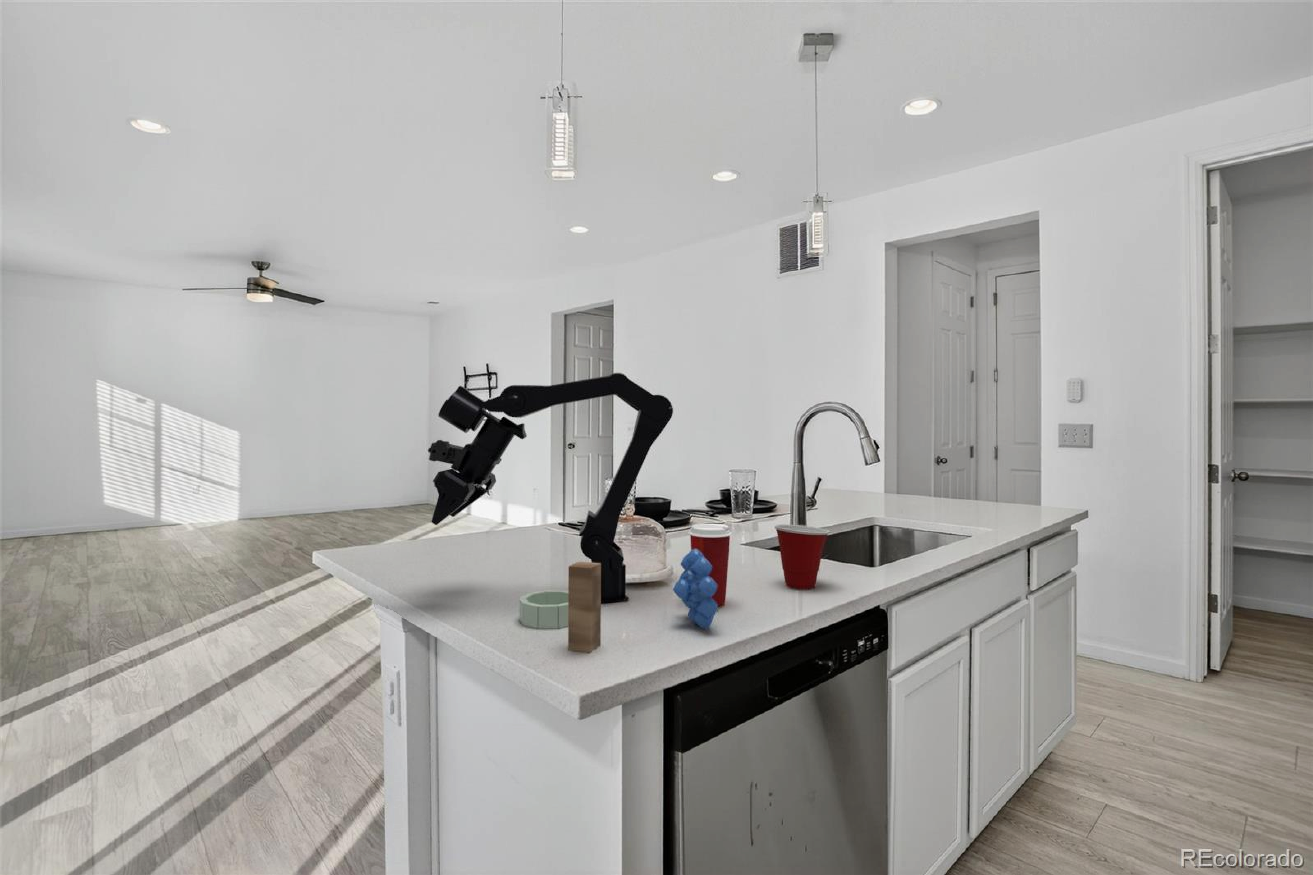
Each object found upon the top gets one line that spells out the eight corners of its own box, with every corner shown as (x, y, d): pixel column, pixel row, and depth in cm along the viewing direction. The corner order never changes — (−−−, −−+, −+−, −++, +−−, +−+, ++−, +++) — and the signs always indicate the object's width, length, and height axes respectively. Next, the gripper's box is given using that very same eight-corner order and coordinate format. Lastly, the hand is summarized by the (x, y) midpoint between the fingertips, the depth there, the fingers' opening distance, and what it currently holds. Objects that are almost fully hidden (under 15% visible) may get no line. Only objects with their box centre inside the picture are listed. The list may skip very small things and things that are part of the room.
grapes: (660, 616, 110) (661, 545, 109) (698, 613, 112) (698, 543, 111) (685, 638, 99) (686, 559, 98) (726, 634, 101) (727, 556, 100)
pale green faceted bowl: (572, 607, 114) (572, 588, 114) (588, 625, 105) (588, 603, 105) (515, 613, 111) (515, 593, 110) (527, 632, 101) (527, 609, 101)
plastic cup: (840, 590, 128) (841, 528, 127) (794, 595, 124) (794, 532, 123) (807, 577, 138) (808, 520, 137) (763, 582, 134) (763, 523, 133)
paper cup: (736, 601, 119) (737, 524, 119) (722, 612, 112) (723, 531, 112) (696, 596, 123) (697, 521, 122) (680, 606, 116) (681, 527, 115)
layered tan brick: (578, 642, 97) (578, 561, 96) (600, 645, 95) (600, 563, 95) (568, 650, 93) (568, 566, 93) (590, 653, 92) (591, 568, 92)
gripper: (466, 422, 127) (423, 489, 128) (432, 423, 109) (383, 502, 109) (514, 453, 127) (472, 520, 128) (488, 459, 109) (439, 538, 109)
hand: (442, 519), depth 119 cm, fingers open, 9 cm apart
